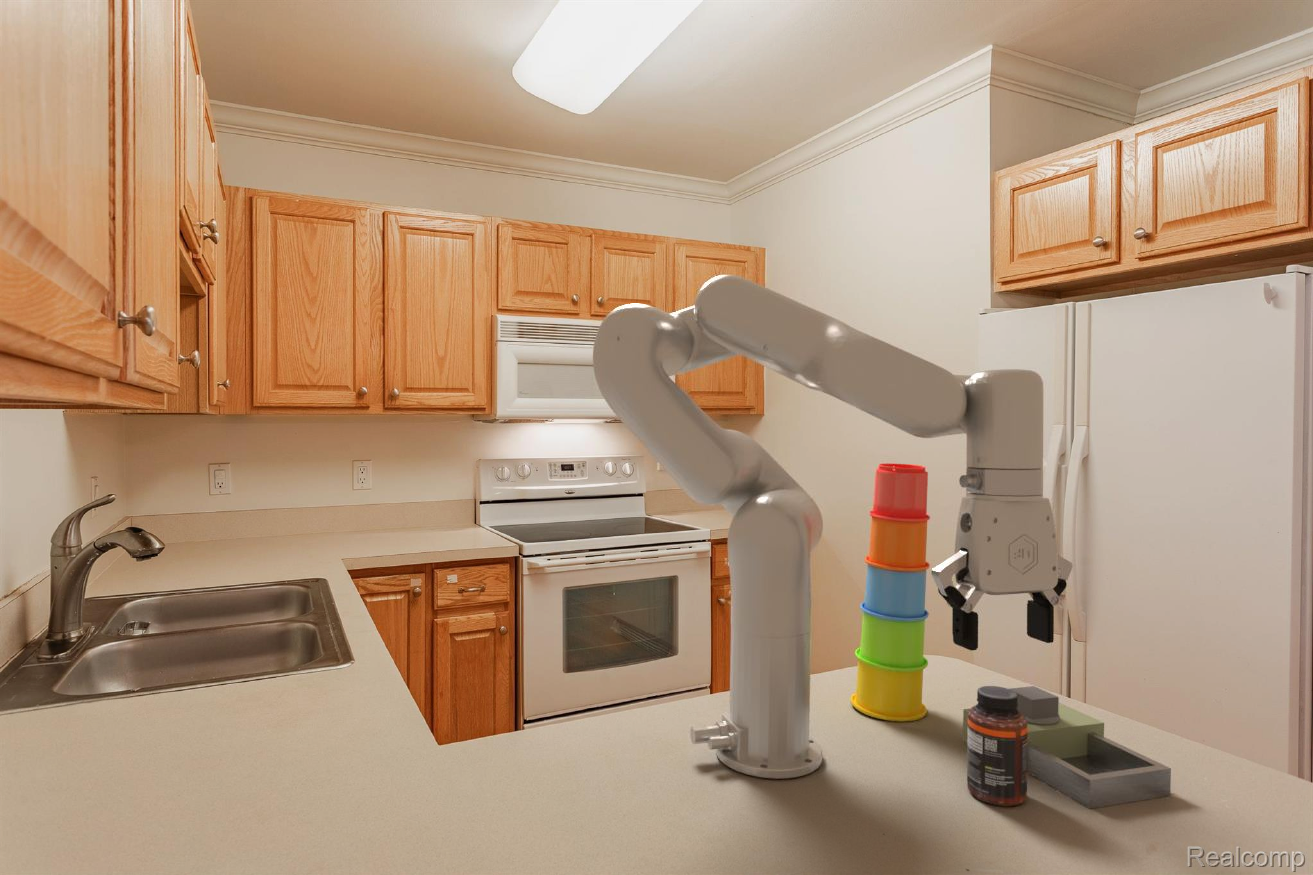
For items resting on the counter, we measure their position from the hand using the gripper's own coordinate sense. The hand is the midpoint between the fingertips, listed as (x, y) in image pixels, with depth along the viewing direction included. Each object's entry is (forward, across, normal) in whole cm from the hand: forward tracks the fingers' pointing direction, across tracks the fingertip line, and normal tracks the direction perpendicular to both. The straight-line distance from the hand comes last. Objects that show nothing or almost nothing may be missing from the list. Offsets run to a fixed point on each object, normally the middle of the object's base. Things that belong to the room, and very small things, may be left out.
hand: (1003, 643), depth 81 cm
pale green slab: (+17, +12, +9) cm, 23 cm away
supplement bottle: (+17, 0, 0) cm, 17 cm away
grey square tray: (+17, +12, +1) cm, 21 cm away
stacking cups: (+17, +2, +25) cm, 30 cm away
